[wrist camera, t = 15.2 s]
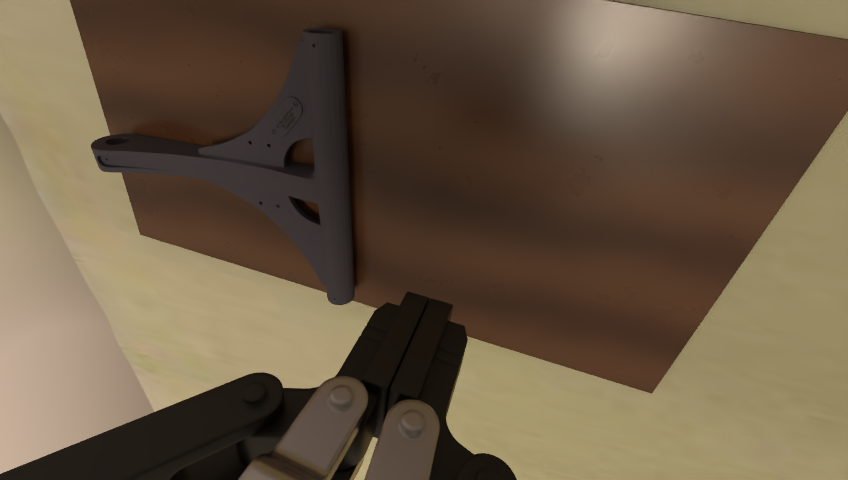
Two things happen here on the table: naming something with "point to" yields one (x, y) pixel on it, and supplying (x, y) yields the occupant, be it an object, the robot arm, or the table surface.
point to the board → (494, 153)
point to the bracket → (276, 161)
